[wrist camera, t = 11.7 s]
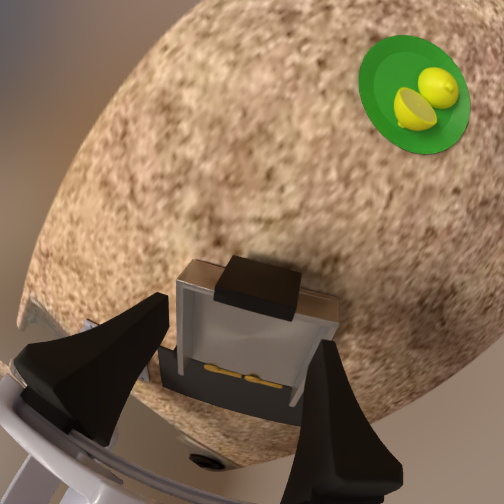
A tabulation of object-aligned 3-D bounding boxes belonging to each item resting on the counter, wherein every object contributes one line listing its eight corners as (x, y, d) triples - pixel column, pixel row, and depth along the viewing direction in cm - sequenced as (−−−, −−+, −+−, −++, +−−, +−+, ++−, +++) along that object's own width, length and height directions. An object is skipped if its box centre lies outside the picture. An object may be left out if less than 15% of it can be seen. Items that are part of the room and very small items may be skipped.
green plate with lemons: (435, 175, 15) (452, 186, 13) (335, 109, 15) (339, 107, 13) (480, 87, 11) (501, 86, 9) (385, 16, 11) (395, 2, 9)
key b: (243, 376, 28) (243, 379, 28) (246, 374, 26) (245, 377, 26) (279, 386, 28) (278, 389, 28) (284, 384, 27) (283, 387, 26)
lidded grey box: (297, 383, 27) (291, 424, 22) (189, 353, 28) (169, 389, 24) (347, 275, 20) (353, 321, 15) (194, 235, 21) (161, 270, 17)
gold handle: (309, 387, 27) (308, 395, 26) (177, 350, 29) (173, 357, 28) (313, 381, 27) (312, 390, 26) (177, 343, 28) (173, 350, 27)
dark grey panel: (163, 385, 34) (162, 386, 34) (158, 344, 29) (156, 346, 29) (305, 425, 32) (305, 427, 31) (329, 393, 27) (329, 395, 27)
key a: (204, 366, 29) (204, 369, 28) (204, 363, 27) (203, 365, 27) (241, 376, 28) (240, 379, 28) (242, 373, 27) (241, 375, 27)
